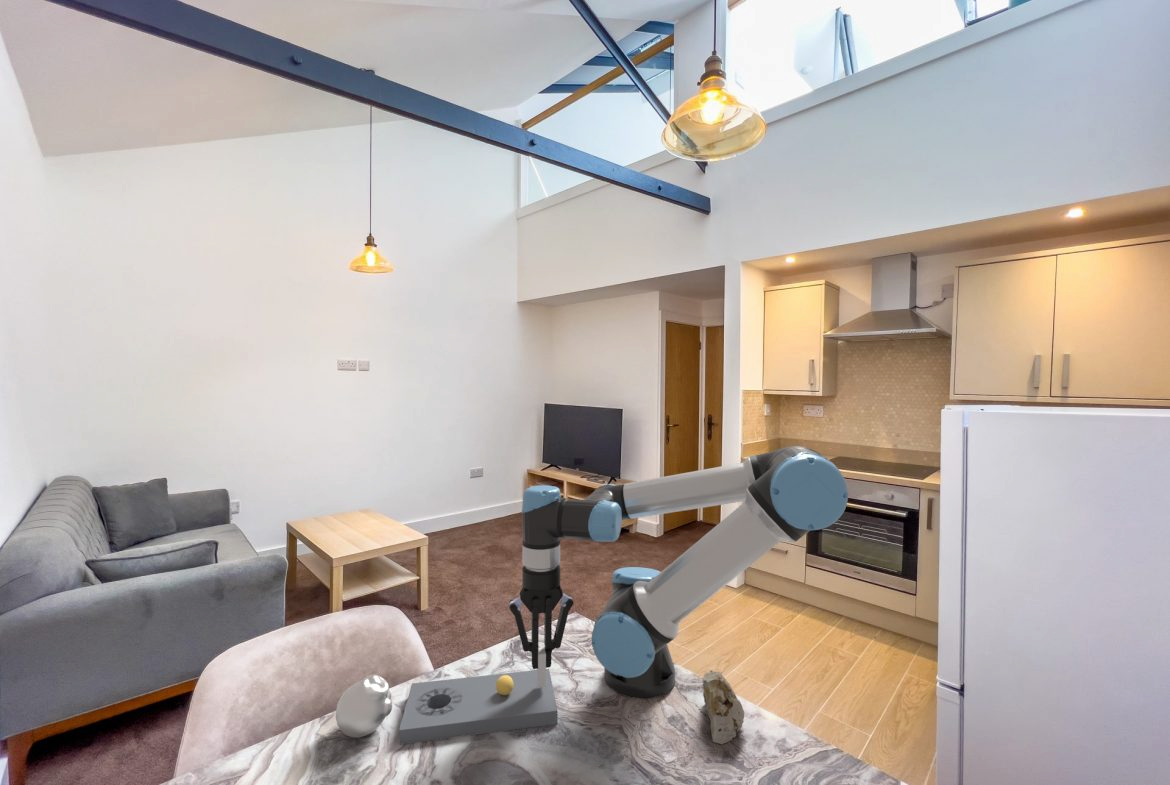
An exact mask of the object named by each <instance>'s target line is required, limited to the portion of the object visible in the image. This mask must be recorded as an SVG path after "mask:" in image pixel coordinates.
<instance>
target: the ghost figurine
mask: <svg viewBox="0 0 1170 785" xmlns="http://www.w3.org/2000/svg"><path fill="white" fill-rule="evenodd" d="M391 698H392V694H391V691H390V686H389V683H388V681H387V680H386V679H385V678H384V677H382V676H380V675H379V674H369V675H367V676H365V677H364V678H362V680H360V681H357V682H355V683H353V684H352V685H351V686H349V687H348V688H346V690H345V691H344V692H343V694H342V695H341V697H340V698H339V700H338V702H337V705H336V709H335V720H336V725H337V726H338V728H339V730H340V732H342V733H343V734H345V735H346V736H348V737H349V738H350V737H351V738H363V737H365V736H369V735H370V734H372V733H373V732H375V731H376V730H377V729H378V728H379V727H380V726H381V725H382V723H384V720H385V719H386V717H387V716H389V715H390V714H391V712H392V710H393V701H392V700H391Z"/></svg>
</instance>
